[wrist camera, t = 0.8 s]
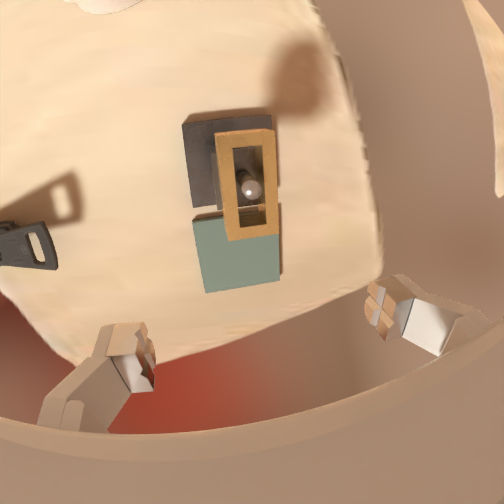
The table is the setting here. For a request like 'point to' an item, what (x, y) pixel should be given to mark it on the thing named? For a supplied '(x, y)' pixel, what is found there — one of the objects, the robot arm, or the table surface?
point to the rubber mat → (234, 257)
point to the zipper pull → (26, 246)
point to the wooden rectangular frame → (266, 177)
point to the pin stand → (205, 160)
